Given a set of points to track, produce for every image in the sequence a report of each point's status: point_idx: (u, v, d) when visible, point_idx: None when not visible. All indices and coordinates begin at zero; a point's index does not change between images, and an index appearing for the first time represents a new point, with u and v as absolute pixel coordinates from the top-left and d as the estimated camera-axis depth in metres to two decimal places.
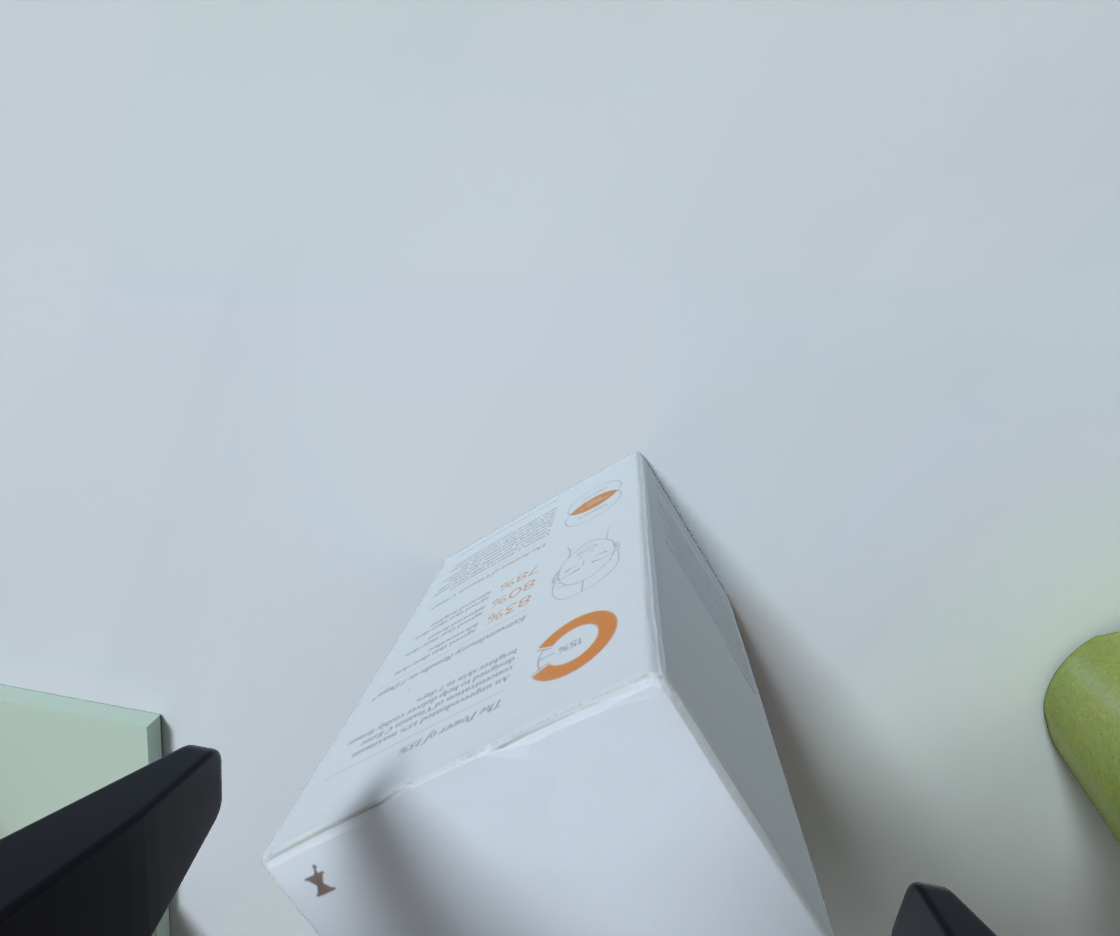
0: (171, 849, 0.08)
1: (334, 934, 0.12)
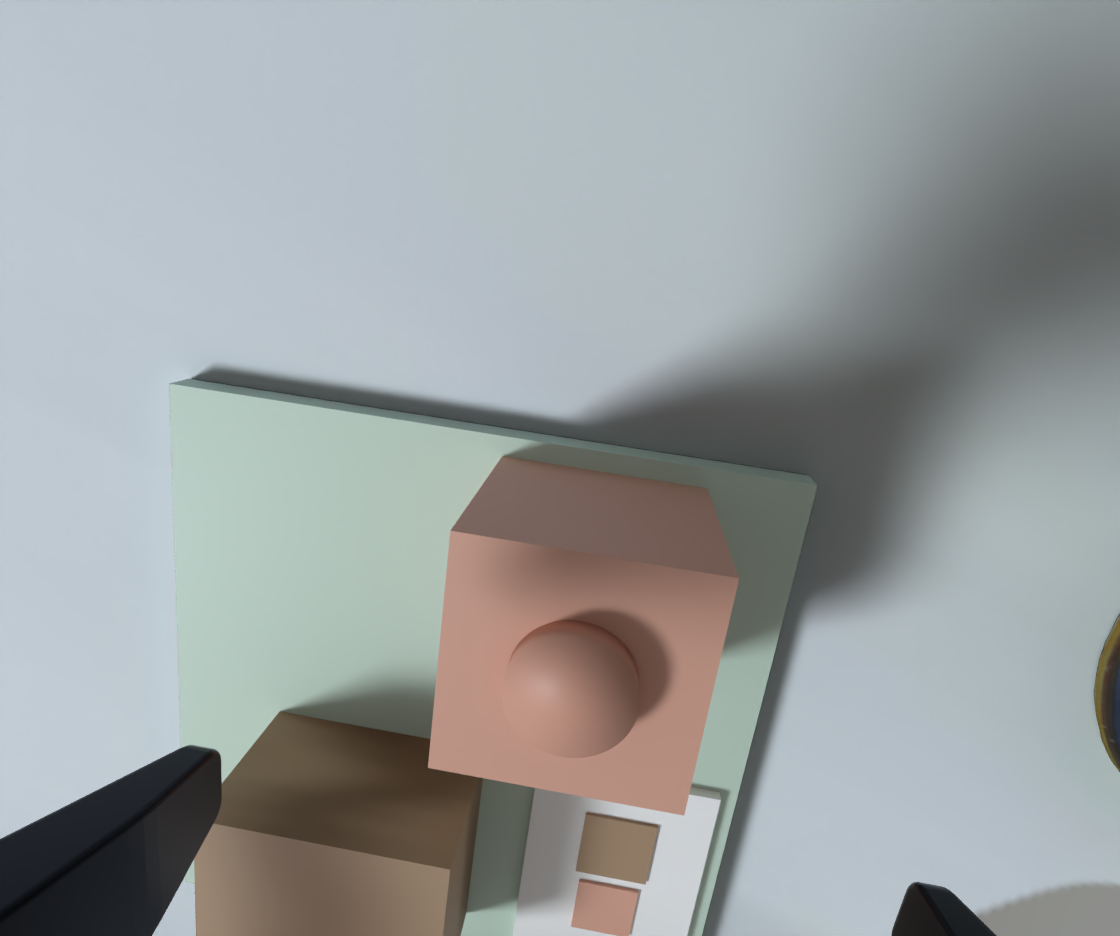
0: (171, 849, 0.08)
1: None
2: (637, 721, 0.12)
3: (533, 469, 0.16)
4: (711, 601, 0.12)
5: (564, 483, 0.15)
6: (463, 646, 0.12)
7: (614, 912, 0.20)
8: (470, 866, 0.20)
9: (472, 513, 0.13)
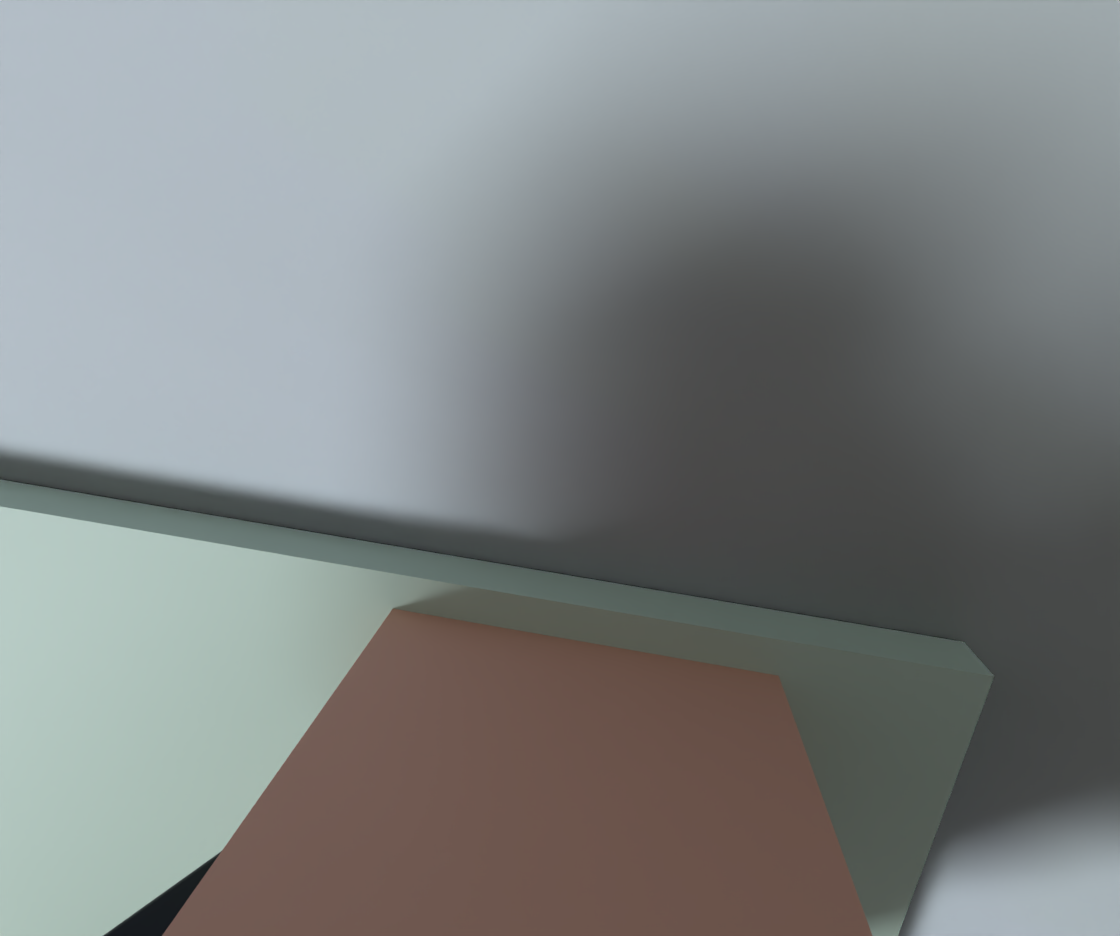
0: None
1: None
2: None
3: (444, 648, 0.08)
4: None
5: (498, 693, 0.07)
6: None
7: None
8: None
9: (231, 873, 0.05)
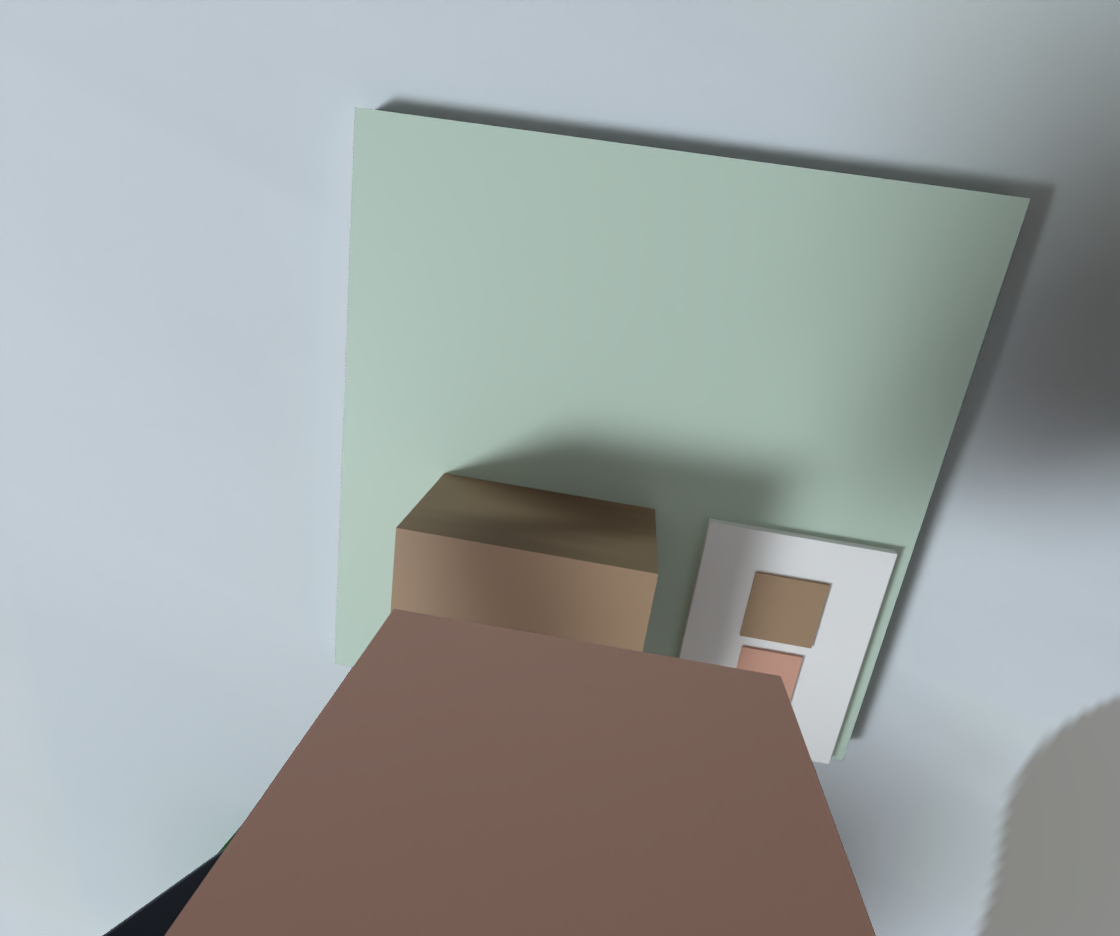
0: None
1: None
2: None
3: (446, 648, 0.08)
4: None
5: (500, 694, 0.07)
6: None
7: None
8: None
9: (233, 874, 0.05)
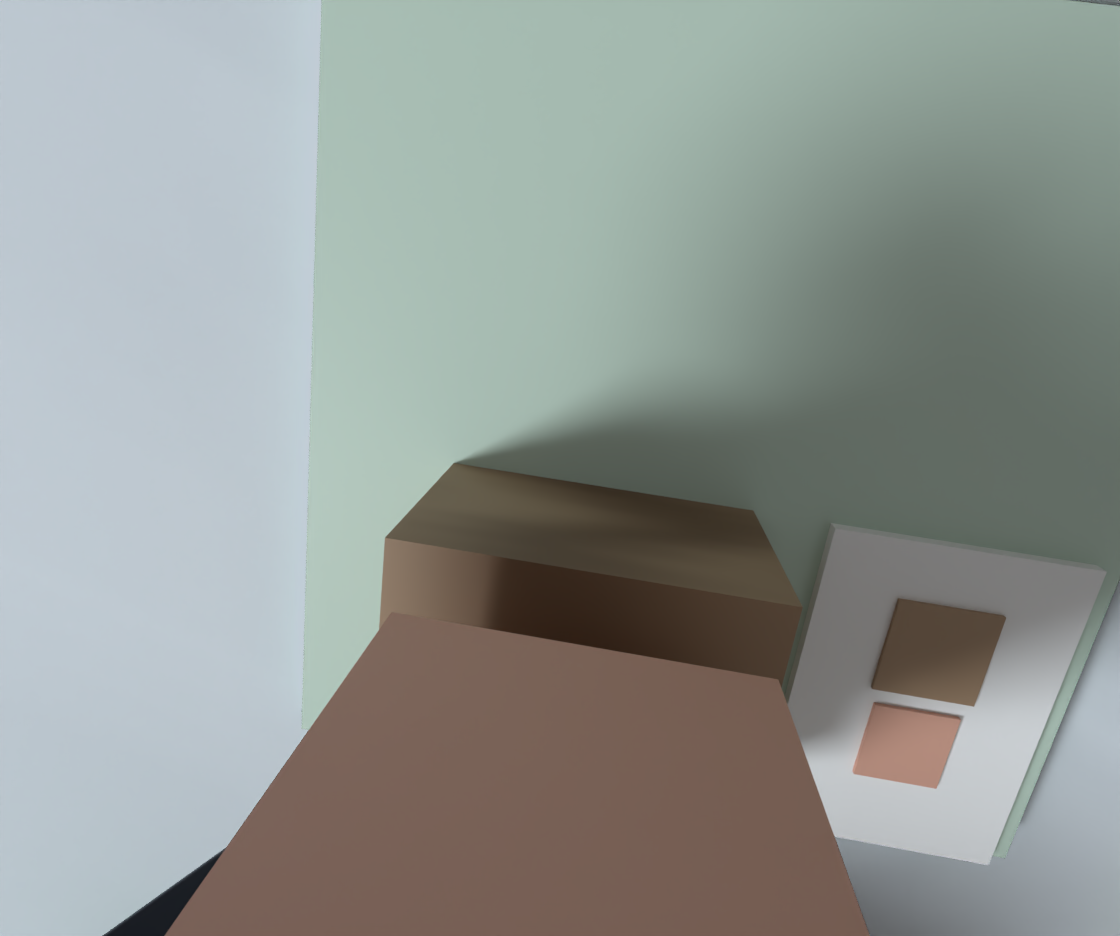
0: None
1: None
2: None
3: (442, 652, 0.08)
4: None
5: (496, 697, 0.07)
6: None
7: (921, 750, 0.14)
8: None
9: (228, 880, 0.05)
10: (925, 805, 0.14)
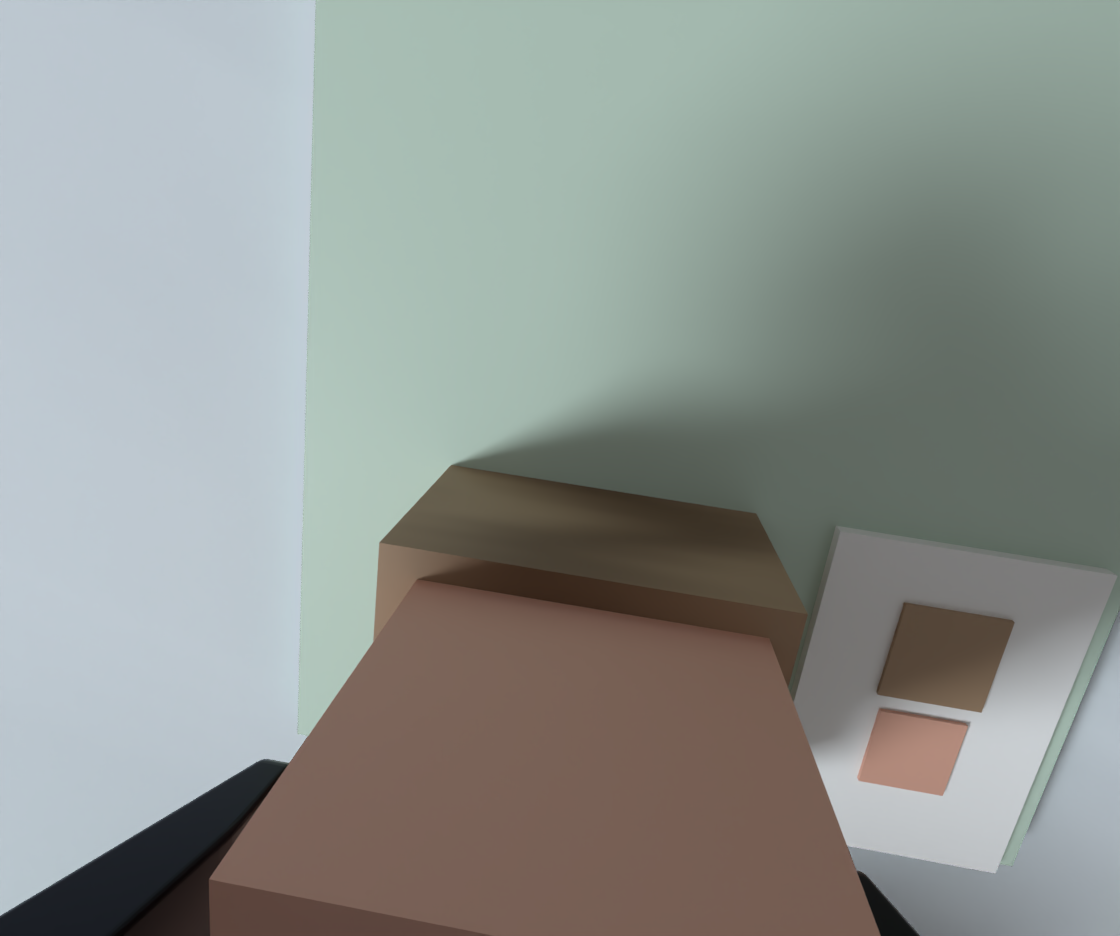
0: None
1: None
2: None
3: (465, 612, 0.09)
4: None
5: (516, 650, 0.08)
6: None
7: (927, 757, 0.14)
8: None
9: (295, 786, 0.06)
10: (931, 812, 0.14)
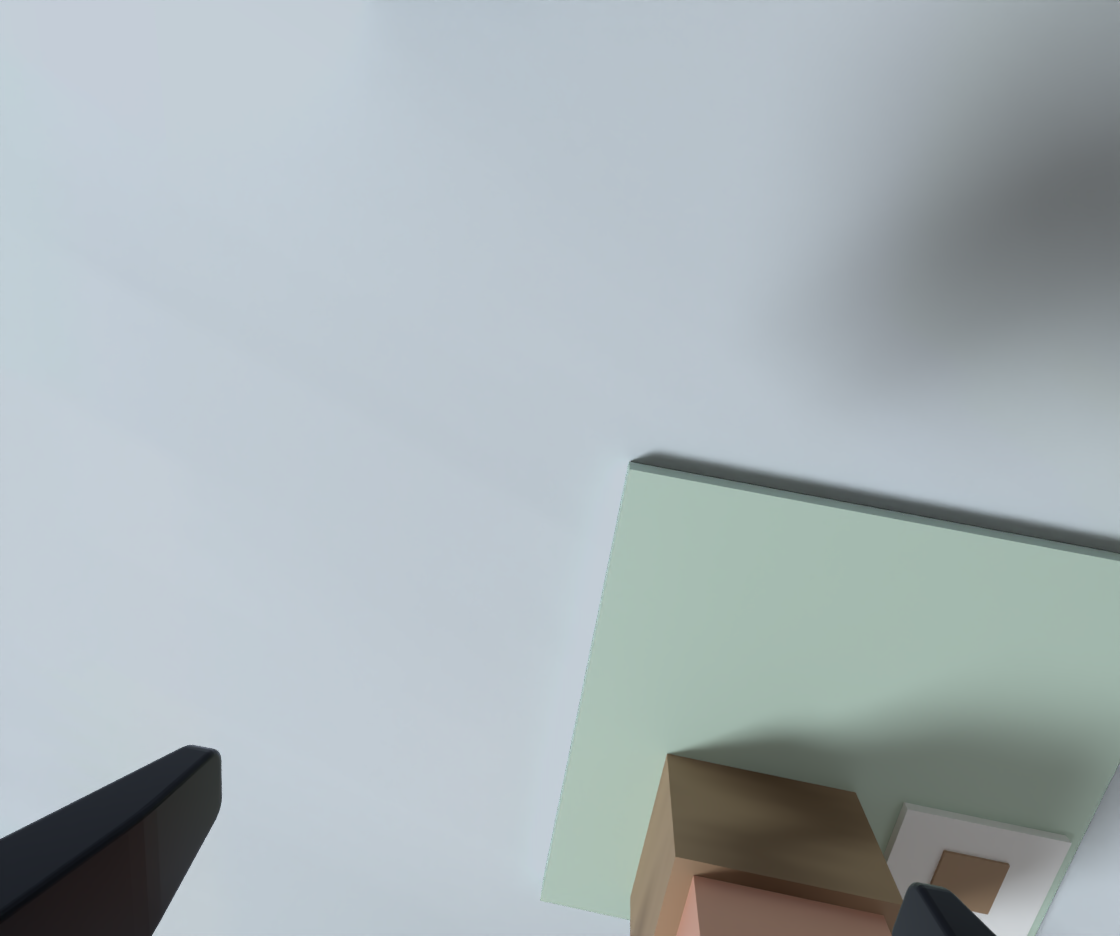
0: (171, 849, 0.08)
1: None
2: None
3: (730, 905, 0.17)
4: None
5: None
6: None
7: None
8: None
9: None
10: None
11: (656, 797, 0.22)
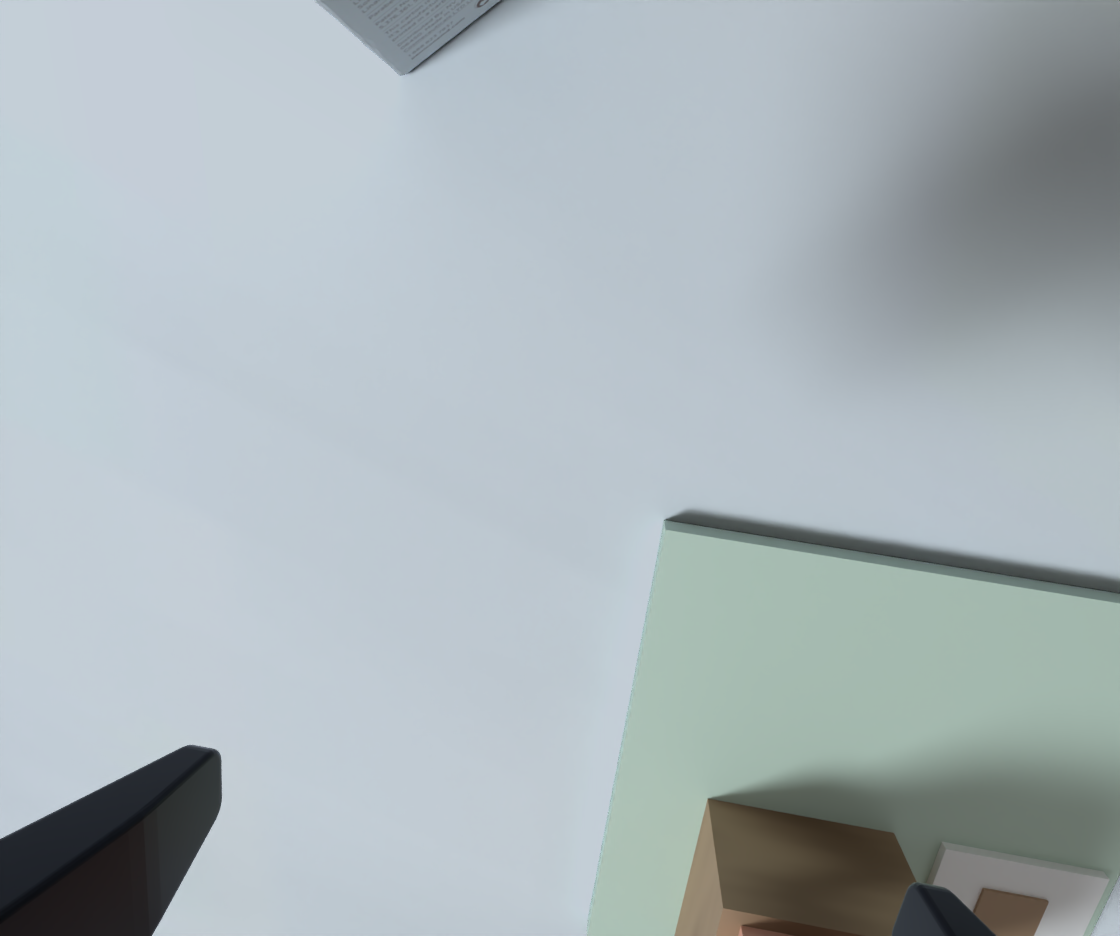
0: (171, 849, 0.08)
1: None
2: None
3: None
4: None
5: None
6: None
7: None
8: None
9: None
10: None
11: (698, 840, 0.23)
